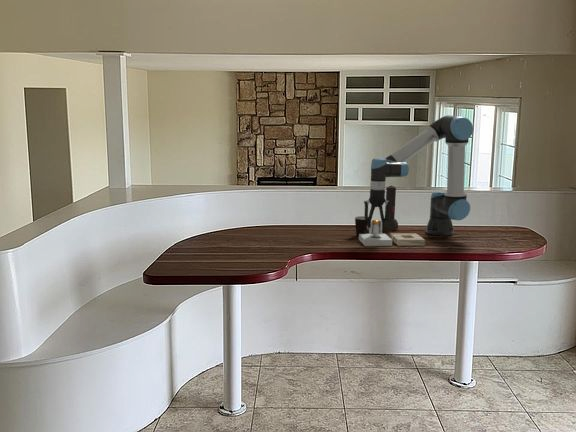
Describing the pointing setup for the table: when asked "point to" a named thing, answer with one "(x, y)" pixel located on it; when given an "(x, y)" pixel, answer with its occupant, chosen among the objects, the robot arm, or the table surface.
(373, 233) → the pin
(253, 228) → the table surface
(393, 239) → the block
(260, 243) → the table surface
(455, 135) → the robot arm
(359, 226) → the coffee mug
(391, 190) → the flashlight
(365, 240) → the mount block
